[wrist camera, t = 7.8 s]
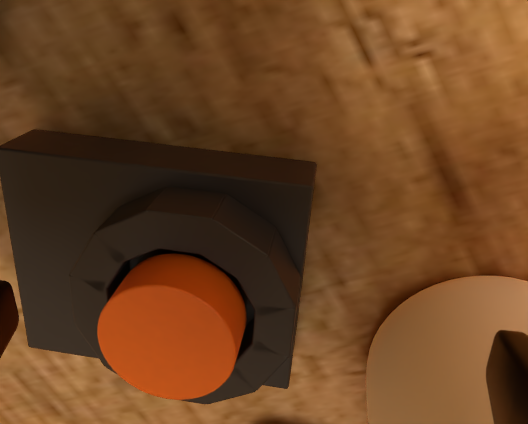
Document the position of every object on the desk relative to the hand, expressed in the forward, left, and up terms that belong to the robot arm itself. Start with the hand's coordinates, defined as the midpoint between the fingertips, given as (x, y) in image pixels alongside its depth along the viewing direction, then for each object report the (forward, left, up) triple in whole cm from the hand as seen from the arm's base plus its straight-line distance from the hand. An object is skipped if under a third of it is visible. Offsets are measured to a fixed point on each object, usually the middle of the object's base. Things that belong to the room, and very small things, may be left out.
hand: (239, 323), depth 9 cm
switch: (-2, -4, -5) cm, 7 cm away
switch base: (-4, -4, -9) cm, 10 cm away
